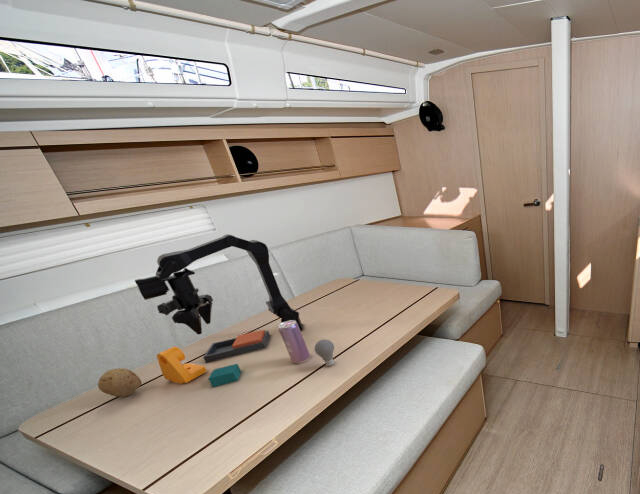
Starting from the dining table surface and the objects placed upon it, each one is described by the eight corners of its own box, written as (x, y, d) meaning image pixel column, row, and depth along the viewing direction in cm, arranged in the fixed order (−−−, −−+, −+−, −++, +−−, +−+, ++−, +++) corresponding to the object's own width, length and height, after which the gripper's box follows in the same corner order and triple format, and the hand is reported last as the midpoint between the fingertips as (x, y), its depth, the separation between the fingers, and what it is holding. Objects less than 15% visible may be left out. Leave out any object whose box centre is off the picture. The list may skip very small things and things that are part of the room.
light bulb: (321, 371, 121) (312, 347, 116) (321, 363, 126) (312, 339, 121) (340, 366, 123) (331, 341, 119) (339, 358, 128) (330, 334, 124)
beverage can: (314, 356, 130) (300, 321, 124) (299, 365, 125) (284, 328, 119) (303, 353, 133) (289, 318, 126) (288, 362, 128) (273, 326, 121)
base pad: (267, 336, 148) (264, 329, 146) (263, 346, 140) (260, 339, 138) (240, 342, 144) (237, 335, 143) (235, 352, 136) (231, 345, 135)
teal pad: (241, 371, 125) (237, 363, 123) (237, 380, 120) (233, 372, 118) (217, 377, 122) (213, 369, 121) (212, 387, 117) (208, 378, 116)
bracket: (209, 372, 126) (193, 343, 121) (187, 384, 120) (170, 355, 115) (188, 369, 129) (172, 341, 124) (166, 381, 123) (148, 352, 118)
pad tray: (270, 335, 149) (268, 330, 148) (265, 348, 139) (263, 342, 138) (215, 348, 142) (212, 343, 141) (206, 362, 133) (203, 357, 131)
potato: (106, 398, 117) (88, 373, 112) (141, 383, 123) (126, 359, 119) (112, 407, 112) (93, 381, 107) (148, 391, 118) (132, 366, 114)
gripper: (167, 286, 127) (187, 323, 134) (141, 304, 111) (166, 346, 118) (203, 279, 131) (222, 316, 138) (184, 296, 115) (205, 337, 122)
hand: (204, 328), depth 129 cm, fingers open, 9 cm apart
